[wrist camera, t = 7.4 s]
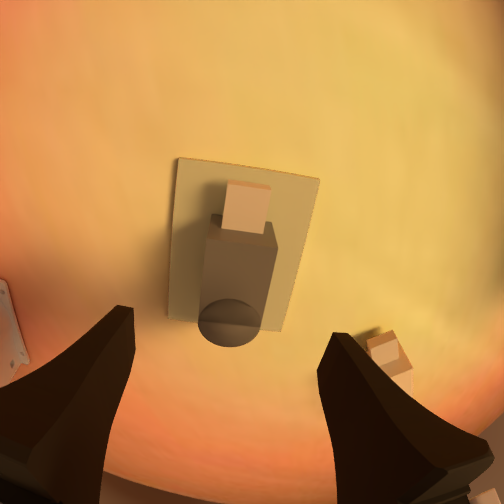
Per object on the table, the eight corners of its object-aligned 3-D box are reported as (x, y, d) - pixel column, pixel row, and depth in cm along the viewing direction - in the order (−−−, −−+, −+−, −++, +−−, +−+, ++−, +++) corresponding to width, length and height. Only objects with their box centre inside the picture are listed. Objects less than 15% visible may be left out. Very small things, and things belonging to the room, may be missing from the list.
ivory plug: (400, 384, 27) (412, 411, 24) (367, 397, 28) (377, 425, 25) (395, 318, 23) (412, 348, 20) (354, 334, 24) (368, 366, 21)
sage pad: (280, 328, 23) (280, 331, 23) (168, 315, 22) (167, 318, 22) (318, 178, 18) (320, 180, 18) (180, 157, 17) (178, 158, 17)
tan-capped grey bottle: (252, 314, 22) (255, 349, 19) (201, 308, 22) (195, 343, 18) (279, 182, 18) (288, 201, 15) (217, 173, 18) (212, 190, 14)
